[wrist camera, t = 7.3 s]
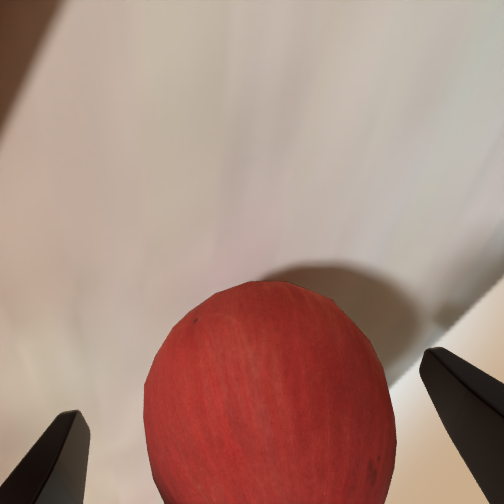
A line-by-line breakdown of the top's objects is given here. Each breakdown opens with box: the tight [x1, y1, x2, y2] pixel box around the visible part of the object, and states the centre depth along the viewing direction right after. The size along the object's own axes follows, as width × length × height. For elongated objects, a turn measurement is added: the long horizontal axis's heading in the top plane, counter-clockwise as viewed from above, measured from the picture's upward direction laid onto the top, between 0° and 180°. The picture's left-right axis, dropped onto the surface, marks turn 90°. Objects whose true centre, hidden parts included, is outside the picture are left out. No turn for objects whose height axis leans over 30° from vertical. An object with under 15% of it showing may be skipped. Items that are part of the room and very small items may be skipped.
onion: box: [143, 281, 397, 504], centre depth 8 cm, size 6×6×8 cm
